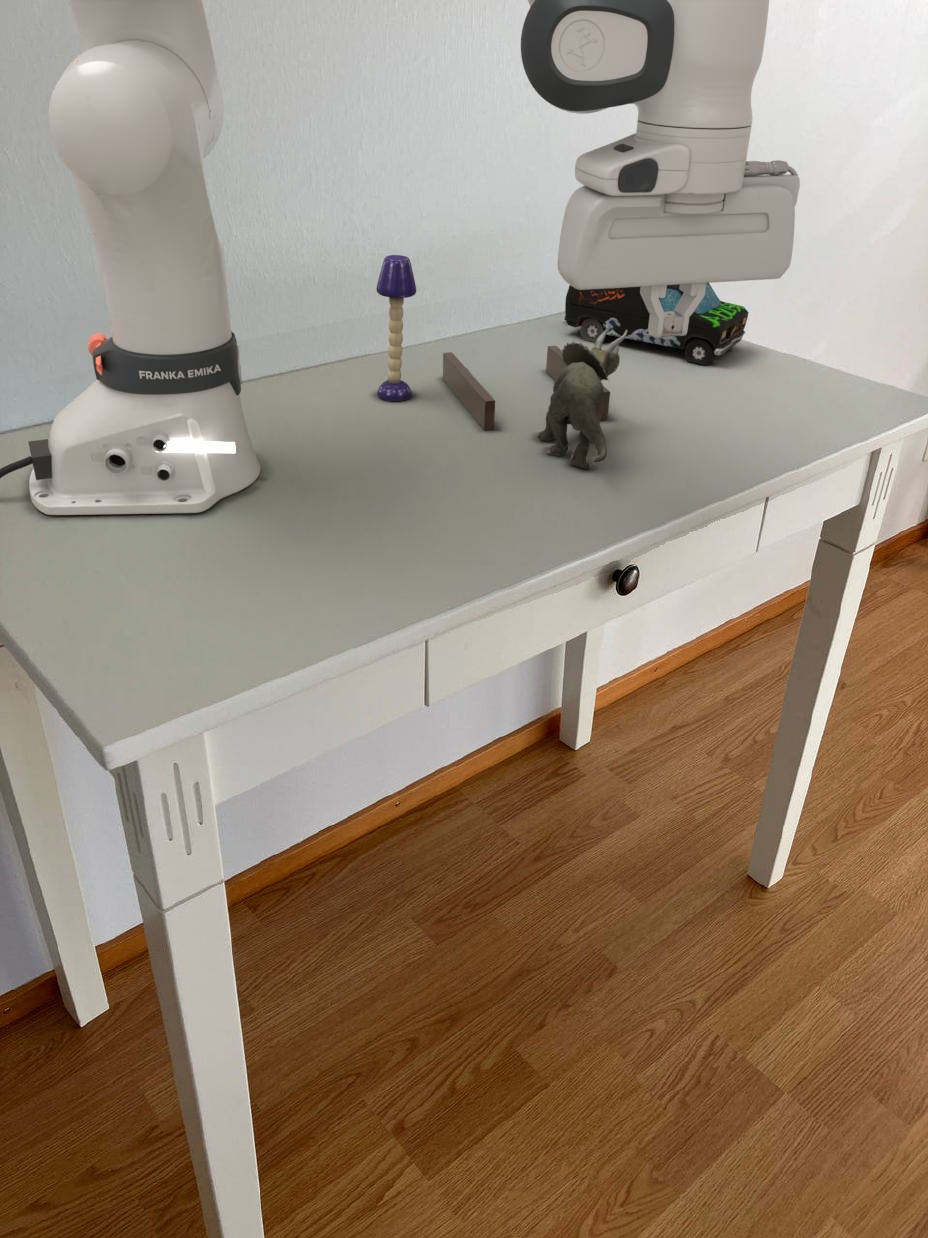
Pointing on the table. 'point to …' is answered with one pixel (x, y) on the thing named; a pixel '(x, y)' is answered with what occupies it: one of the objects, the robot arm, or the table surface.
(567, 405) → the toy dinosaur
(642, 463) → the table surface
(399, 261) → the toy lamp
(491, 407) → the walnut rails
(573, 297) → the toy van
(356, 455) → the table surface
